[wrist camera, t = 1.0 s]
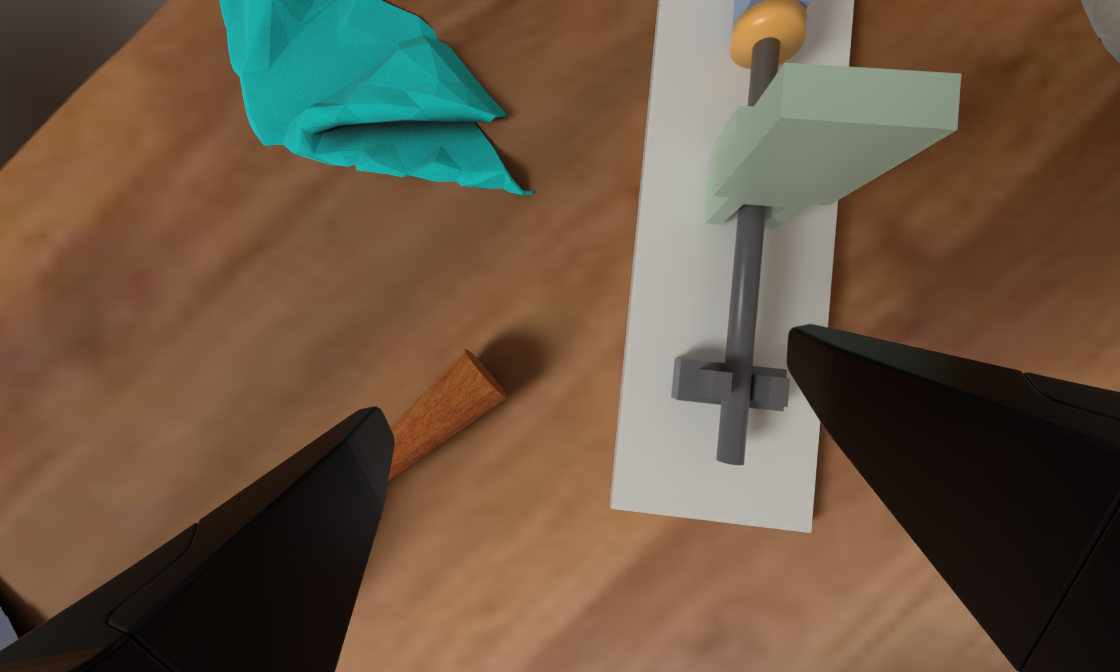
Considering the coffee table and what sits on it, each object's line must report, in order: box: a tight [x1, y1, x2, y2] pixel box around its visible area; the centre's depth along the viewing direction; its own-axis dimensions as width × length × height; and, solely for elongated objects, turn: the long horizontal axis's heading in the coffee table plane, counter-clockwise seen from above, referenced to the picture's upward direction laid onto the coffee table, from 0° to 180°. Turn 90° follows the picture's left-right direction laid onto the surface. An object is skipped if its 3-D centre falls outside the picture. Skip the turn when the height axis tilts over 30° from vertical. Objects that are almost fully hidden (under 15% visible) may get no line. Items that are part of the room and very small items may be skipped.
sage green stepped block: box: [705, 63, 961, 229], centre depth 17 cm, size 4×5×10 cm
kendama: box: [388, 349, 508, 481], centre depth 21 cm, size 6×6×20 cm
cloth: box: [219, 0, 536, 195], centre depth 24 cm, size 26×14×2 cm, turn 36°
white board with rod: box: [610, 0, 854, 533], centre depth 20 cm, size 30×10×5 cm, turn 174°
